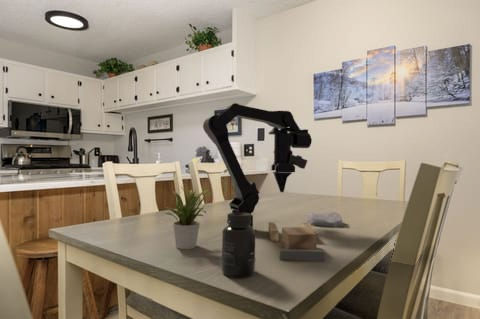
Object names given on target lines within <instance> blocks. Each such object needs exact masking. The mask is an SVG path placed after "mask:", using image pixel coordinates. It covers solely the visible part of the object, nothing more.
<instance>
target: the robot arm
mask: <svg viewBox="0 0 480 319" xmlns="http://www.w3.org/2000/svg"><path fill="white" fill-rule="evenodd" d="M235 118H240V119H243V120H249V121H255V122H259V123H264V124H267V125H268V126H269V127H272V129H271V130H270V131H269V132H268V135H271V136H272V135H274V138H273V139H274V141H273V142H274V145H273V146H274V150H273V156H274V157H273V163H272V164H271V170H270V171H272V174H273V176H274V179H275V182H276V185H277V187H278V189H279V190H278V191H279V192H280V193H284V192H285V188H286V184H287V180H288V177H290V176H291V175H292V174H293V173H296V167H297V168H299V169H304V170H305V168H306V166H307V164H308V160H307V159H304V158H303V156H302V155H301V156H300V155H294V154H293V150H292V149H291V148H293V149H309V148H310V147H311V145H312V141H313V140H312V137H311V134H310V133H309V129H306V128H305V129H301V128H300V126H299V124H298V123H297V122H296V120H295V119H294V116H293V114H292V112H291V111H289V110H266V109H261V108H257V107H252V106H248V105H242V104H239V103H236V102H234V103H232V104H230V105H229V106H227V108H225V109H223V110H222V111H221V112H219V113H218V114H214V115H211V116H210V117H207V118H206V119H205V120H204V121H203V125H202V127H203V131H204V133H205V134H206V135H207V137H208V138H209V139H210V140H211V142H213V144H214V145H215V147H216V149H217V151H218V152H219V155H220V157H221V159H222V161H223V163H224V165H225V168H226V170H227V172H228V174H229V177H230V178H231V181H232V182H233V192H234V196H235V197H234V198H233V199H232V200H231V201H230V202H229V208H230V210H232V211H231V213H234V212H243V213H249V214H251V223H250V226H251V227H252V228H253V227H254V215H253V214H252V213H254V211H255V208H256V206H257V204H258V203H259V200H260V196H259V194H260V191H259V190H258V187H257V185H256V182H254V181H249V180H248V179H247V177H246V175H245V173H244V171H243V168H242V167H241V164H240V162H239V160H238V158H237V156H236V153H235V150H234V149H233V147H232V144H231V143H230V139H229V137H230V136H229V129H228V126H227V125H228V124H229V123H231V122H232V121H233V120H234V119H235ZM253 229H254V228H253Z"/></svg>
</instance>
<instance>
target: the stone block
mask: <svg viewBox="0 0 480 319" xmlns="http://www.w3.org/2000/svg"><path fill="white" fill-rule="evenodd" d="M306 216H307V217H306V218H307V223H308V224H309V225H310V226H316V225H318V226H320V227H328V226H329V227H332V228H339V227H341V228H342V226H343V227H344V223H343V218H342V216H341V215H340V213H339V212H335V211H329V212H324V213H323V212H322V213H315V212H309V213H308V214H307V215H306ZM329 227H328V228H329Z"/></svg>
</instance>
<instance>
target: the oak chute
mask: <svg viewBox="0 0 480 319" xmlns="http://www.w3.org/2000/svg"><path fill="white" fill-rule="evenodd" d="M267 225H268V226H267V227H268V228H267V229H268V231H267V232H268V235H269V238H270V241H271V242H276V243H277V242H279V229H278V226H277V224H276V222H274V221H268V224H267ZM311 226H312V225H311V224H310V223H309V222H301V223H300V227H307V228H309V229H310V230H311V231H313V232H314V233H315V234H316V235H317V232H316V230H315V229H314V228H313V227H311Z"/></svg>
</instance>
